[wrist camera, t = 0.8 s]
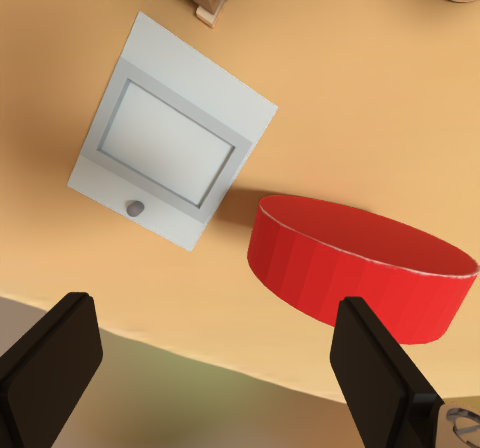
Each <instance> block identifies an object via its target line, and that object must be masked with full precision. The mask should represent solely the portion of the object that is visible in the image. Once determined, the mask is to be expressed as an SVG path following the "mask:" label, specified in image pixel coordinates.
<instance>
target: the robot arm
mask: <svg viewBox="0 0 480 448" xmlns="http://www.w3.org/2000/svg"><path fill="white" fill-rule="evenodd" d="M452 1H455V2H471V1H476V0H452ZM102 357H103V350H102V345H101V339H100V333H99V328H98V322H97V316H96V311H95V305H94V300H93V298H92V297H91V296H89V294H88V293H86V292H70V293H68V294H67V295H66V296H64V297H63V298H62V299H61V300H60V301H59V302H58V303H57V304H56V305H55V306H54V307H53V308H52V309H51V310H50V311H49V312H48V313H47V314H45V316H43V317H42V318H41V319H40V320H39V321H38V322H37V323H36V324H35V325H34V326H33V327H32V328H31V329H30V330H29V331H28V332H27V333H25V334H24V335H23V336H22V337H21V338H20V339H19V340H18V341H17V342H16V343H15V344H14V345H13V346H12V347H11V348H10V349H9V350H8V351H7V352H6V353H4V354H3V355H2V356H1V357H0V448H51V447H52V445H53V443H54V442H55V440H56V438H57V436H58V435H59V433H60V432H61V430H62V428H63V426H64V425H65V423H66V421H67V420H68V418H69V416H70V415H71V413H72V411H73V409H74V408H75V406H76V404H77V402H78V401H79V399H80V398H81V396H82V394H83V392H84V391H85V389H86V387H87V386H88V384H89V382H90V381H91V379H92V377H93V375H94V374H95V372H96V370H97V369H98V367H99V365H100V363H101V361H102ZM330 363H331V366H332V369H333V371H334V373H335V376H336V378H337V381H338V383H339V385H340V388H341V390H342V393H343V395H344V397H345V400H346V402H347V405H348V407H349V410H350V412H351V414H352V417H353V419H354V422H355V424H356V426H357V429H358V431H359V433H360V436H361V438H362V441H363V443H364V446H365V448H480V412H479V411H478V410H476V409H474V408H472V407H469V406H467V405H464V404H460V403H455V402H450V403H444V401H443V400H442V399H441V397H440V396H439V395H438V394H437V392H436V391H435V390H434V388H433V387H432V386H431V385H430V383H429V382H428V381H427V379H426V378H425V377H424V376H423V374H422V373H421V372H420V370H419V369H418V368H417V367H416V365H415V364H414V363H413V362H412V360H411V359H410V358H409V356H408V355H407V354H406V353H405V351H404V350H403V349H402V347H401V346H400V345H399V344H398V342H397V341H396V340H395V338H394V337H393V336H392V335H391V334H390V332H389V331H388V330H387V328H386V327H385V326H384V325H383V323H382V322H381V321H380V319H379V318H378V317H377V316H376V314H375V313H374V312H373V310H372V309H371V308H370V307H369V305H368V304H367V303H366V301H365V300H364V299H363V298H362V297H360V296H346V297H344V300H340V302H339V306H338V311H337V317H336V323H335V328H334V334H333V340H332V345H331V351H330Z"/></svg>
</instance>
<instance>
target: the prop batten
mask: <svg viewBox="0 0 480 448" xmlns="http://www.w3.org/2000/svg"><path fill="white" fill-rule="evenodd" d="M226 1H227V0H221V1H220V3H219V6H218V8H217V10H216V12H215V14H214V15H213V14H212V13H210V12H209V11H207V10H206V9H204V8H203V7H201V6H200V5H199V7H198V9H197V11H196V14H197V17H198V18H199V19H201V20H202V21H203V22H205V23H206V24H207V25H209V26H210V27H212V28H214V26H215V24H216V22H217V20H218V18H219V16H220V14H221V12H222V10H223V7H224V5H225V3H226Z"/></svg>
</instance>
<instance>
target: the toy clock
mask: <svg viewBox="0 0 480 448" xmlns="http://www.w3.org/2000/svg"><path fill="white" fill-rule="evenodd" d="M247 259H248V263H249V266H250V268H251V269H252V271H253V273H254V274H255V276H256V277H257V278H258V279H259V280H260V281H261V282H262V283H263V284H264V286H266V287H267V288H268V289H269V290H270V291H272V292H273V293H274V294H275V295H276V296H278V297H279V298H280V299H282V300H284V301H285V302H287V303H288V304H290V305H291V306H293V307H294V308H296V309H298V310H299V311H301V312H303V313H305V314H307V315H309V316H311V317H313V318H315V319H316V320H318V321H321V322H323V323H326V324H328V325H330V326H333V327H335V323H336V317H337V311H338V306H339V302H340V300H344V297H346V296H360V297H362V298H363V299H364V300H365V301H366V303H367V304H368V305H369V307H370V308H371V309H372V310H373V312H374V313H375V314H376V316H377V317H378V318H379V319H380V321H381V322H382V323H383V325H384V326H385V327H386V328H387V330H388V331H389V332H390V334H391V335H392V336H393V337H394V338H395V340H396V341H397V342H398V344H407V345H412V344H426V343H429V342H432V341H435V340H438V339H439V338H440V337H441V336H442V335H443V334H444V333H445V332H446V330H447V329H448V327H449V325H450V323H451V321H452V320H453V318H454V316H455V314H456V312H457V311H458V309H459V307H460V305H461V304H462V302H463V300H464V298H465V296H466V295H467V293H468V291H469V289H470V287H471V286H472V284H473V282H474V280H475V279H476V277H477V275H478V273H479V271H480V266H479V265H478V263H477V262H476V261H475V260H474V259H473V258H472V257H470V256H469V255H468V254H466V253H465V252H463V251H462V250H460V249H459V248H457V247H455V246H453V245H451V244H449V243H448V242H446V241H444V240H441V239H439V238H437V237H435V236H433V235H431V234H428V233H426V232H424V231H421V230H419V229H416V228H414V227H411V226H409V225H406V224H403V223H400V222H398V221H395V220H392V219H389V218H386V217H383V216H380V215H377V214H374V213H370V212H367V211H363V210H360V209H356V208H353V207H349V206H345V205H341V204H337V203H332V202H328V201H323V200H318V199H312V198H306V197H298V196H287V195H272V196H266V197H264V198H262V199H261V200H260V201H259V204H258V209H257V213H256V217H255V222H254V226H253V230H252V235H251V239H250V243H249V248H248V253H247Z"/></svg>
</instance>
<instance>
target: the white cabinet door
mask: <svg viewBox="0 0 480 448" xmlns="http://www.w3.org/2000/svg"><path fill="white" fill-rule="evenodd" d="M277 109H278V107H277V106H275V105H274V104H273V103H271V102H270V101H268V100H267V99H265V98H264V97H263V96H261V95H260V94H258V93H257V92H255V91H254V90H253V89H251V88H250V87H248V86H247V85H245V84H244V83H243V82H241V81H240V80H238V79H237V78H235V77H234V76H232V75H231V74H230V73H228V72H227V71H225V70H224V69H222V68H221V67H220V66H218V65H217V64H215V63H214V62H212V61H211V60H210V59H208V58H207V57H205V56H204V55H202V54H201V53H200V52H198V51H197V50H195V49H194V48H192V47H191V46H190V45H188V44H187V43H185V42H184V41H182V40H181V39H179V38H178V37H177V36H175V35H174V34H172V33H171V32H169V31H168V30H167V29H165V28H164V27H162V26H161V25H159V24H158V23H157V22H155V21H154V20H152V19H151V18H149V17H148V16H147V15H145V14H144V13H142V12H141V11H139V13H138V15H137V18H136V20H135V23H134V25H133V27H132V30H131V32H130V35H129V37H128V39H127V42H126V44H125V47H124V49H123V51H122V54H121V56H120V58H119V60H118V62H117V65H116V67H115V70H114V72H113V74H112V77H111V79H110V82H109V84H108V86H107V89H106V91H105V94H104V96H103V98H102V101H101V103H100V106H99V108H98V110H97V113H96V115H95V118H94V120H93V122H92V125H91V127H90V130H89V132H88V134H87V137H86V139H85V142H84V144H83V146H82V149H81V151H80V154H79V157H78V159H77V162H76V164H75V166H74V169H73V171H72V174H71V176H70V178H69V181H68V183H67V186H68V187H70V188H72V189H74V190H76V191H77V192H79V193H81V194H83V195H85V196H87V197H89V198H91V199H92V200H94V201H96V202H98V203H100V204H102V205H104V206H105V207H107V208H109V209H111V210H113V211H115V212H117V213H119V214H120V215H122V216H124V217H126V218H128V219H130V220H132V221H134V222H135V223H137V224H139V225H141V226H143V227H145V228H147V229H148V230H150V231H152V232H154V233H156V234H158V235H160V236H162V237H163V238H165V239H167V240H169V241H171V242H173V243H175V244H177V245H178V246H180V247H182V248H184V249H186V250H188V251H190V252H191V250H192V249H193V247H194V246H195V244H196V242H197V241H198V239H199V237H200V236H201V234H202V232H203V231H204V229H205V228H206V226H207V224H208V223H209V221H210V219H211V218H212V216H213V214H214V213H215V211H216V209H217V208H218V206H219V205H220V203H221V201H222V200H223V198H224V196H225V195H226V193H227V191H228V190H229V188H230V187H231V185H232V183H233V182H234V180H235V178H236V177H237V175H238V173H239V172H240V170H241V169H242V167H243V165H244V164H245V162H246V160H247V159H248V157H249V155H250V154H251V152H252V150H253V149H254V147H255V146H256V144H257V142H258V141H259V139H260V137H261V136H262V134H263V132H264V131H265V129H266V128H267V126H268V124H269V123H270V121H271V119H272V118H273V116H274V114H275V113H276V111H277Z"/></svg>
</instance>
